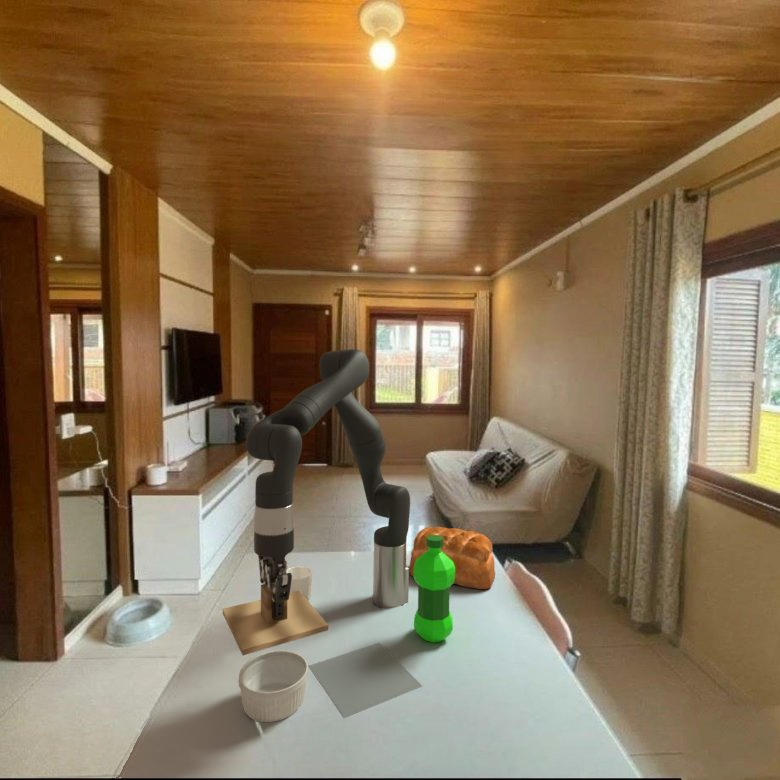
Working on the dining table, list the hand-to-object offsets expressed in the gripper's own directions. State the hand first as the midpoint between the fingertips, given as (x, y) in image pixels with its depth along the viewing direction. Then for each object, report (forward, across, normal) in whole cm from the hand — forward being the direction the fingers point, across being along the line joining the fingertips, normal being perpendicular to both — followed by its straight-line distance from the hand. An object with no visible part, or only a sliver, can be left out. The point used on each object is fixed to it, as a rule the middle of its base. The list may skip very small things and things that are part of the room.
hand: (274, 612), depth 93 cm
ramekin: (+19, 0, 0) cm, 19 cm away
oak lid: (+2, 0, 0) cm, 2 cm away
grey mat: (+18, -2, -19) cm, 26 cm away
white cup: (+19, +33, -17) cm, 41 cm away
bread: (+19, +28, -67) cm, 75 cm away
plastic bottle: (+18, +3, -41) cm, 45 cm away
